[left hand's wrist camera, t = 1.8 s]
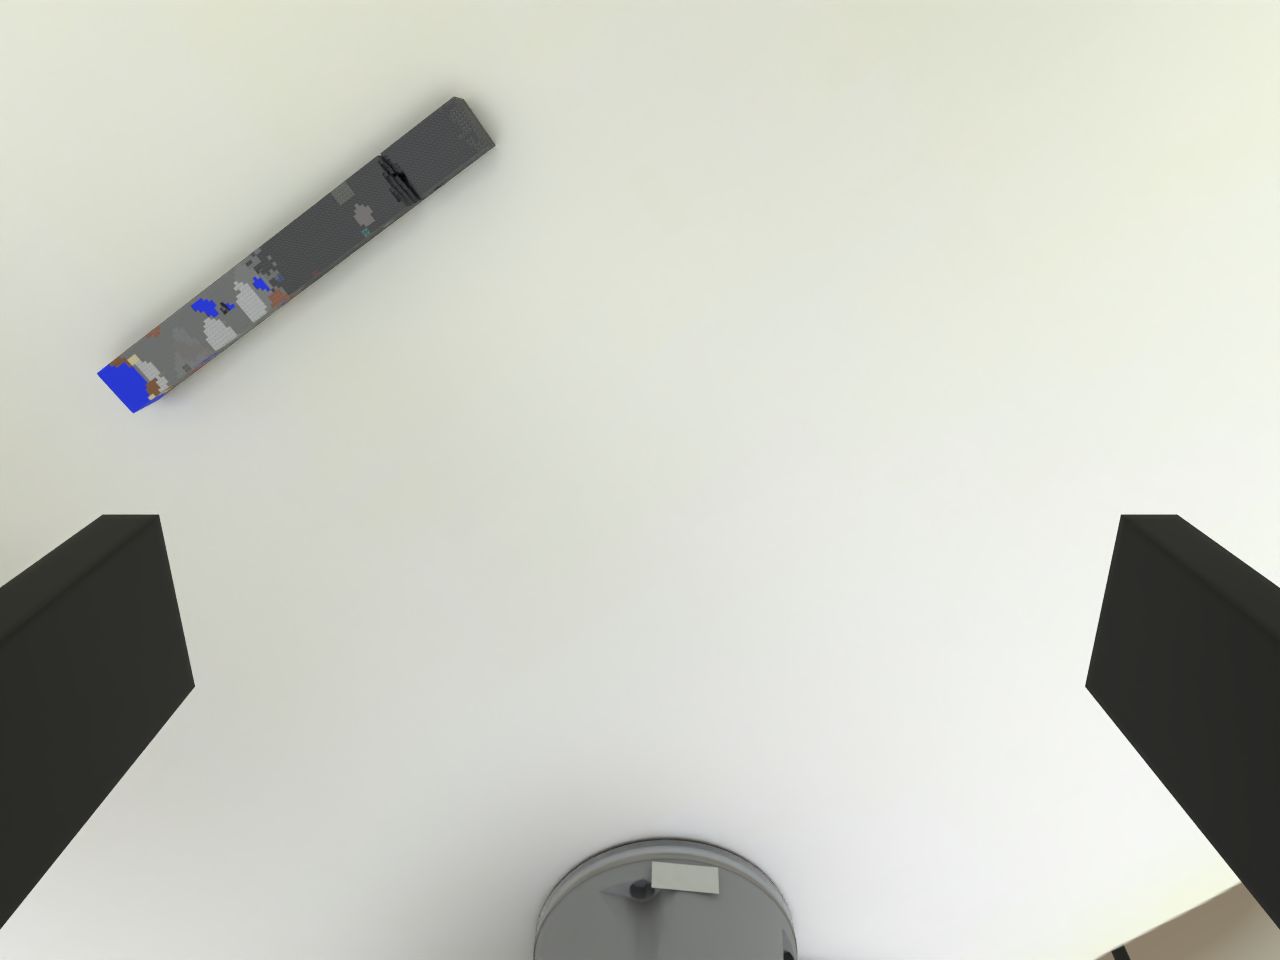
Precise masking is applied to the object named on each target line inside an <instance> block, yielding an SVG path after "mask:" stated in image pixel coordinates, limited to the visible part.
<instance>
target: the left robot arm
mask: <svg viewBox="0 0 1280 960" xmlns="http://www.w3.org/2000/svg"><path fill="white" fill-rule="evenodd" d="M194 687H195V685H194V680H193V675H192V670H191V666H190V661H189V656H188V651H187V646H186V642H185V637H184V632H183V627H182V623H181V618H180V613H179V608H178V603H177V599H176V594H175V589H174V584H173V580H172V575H171V570H170V565H169V560H168V556H167V551H166V546H165V541H164V537H163V532H162V527H161V522H160V517H159V515H102V516H100V517H99V518H97V519H96V520H95V521H93V522H92V523H90V524H89V525H88V526H86V527H85V528H83V529H82V530H81V531H79V532H78V533H76V534H75V535H74V536H72V537H71V538H69V539H68V540H67V541H65V542H64V543H62V544H61V545H60V546H58V547H57V548H55V549H54V550H53V551H51V552H50V553H48V554H47V555H46V556H44V557H43V558H41V559H40V560H39V561H37V562H36V563H34V564H33V565H32V566H30V567H29V568H27V569H26V570H25V571H23V572H22V573H20V574H19V575H18V576H16V577H15V578H13V579H12V580H11V581H9V582H8V583H6V584H5V585H4V586H2V587H1V588H0V929H1V928H2V927H3V925H4V924H5V923H6V922H7V920H8V919H9V918H10V917H11V915H12V914H13V913H14V912H15V910H16V909H17V908H18V907H19V905H20V904H21V903H22V902H23V900H24V899H25V898H26V897H27V895H28V894H29V893H30V892H31V890H32V889H33V888H34V887H35V885H36V884H37V883H38V882H39V880H40V879H41V878H42V877H43V875H44V874H45V873H46V872H47V870H48V869H49V868H50V867H51V865H52V864H53V863H54V862H55V860H56V859H57V858H58V857H59V855H60V854H61V853H62V852H63V850H64V849H65V848H66V847H67V845H68V844H69V843H70V842H71V840H72V839H73V838H74V837H75V835H76V834H77V833H78V832H79V830H80V829H81V828H82V827H83V825H84V824H85V823H86V822H87V820H88V819H89V818H90V817H91V815H92V814H93V813H94V812H95V810H96V809H97V808H98V807H99V805H100V804H101V803H102V802H103V800H104V799H105V798H106V797H107V796H108V794H109V793H110V792H111V791H112V789H113V788H114V787H115V786H116V784H117V783H118V782H119V781H120V779H121V778H122V777H123V776H124V774H125V773H126V772H127V771H128V769H129V768H130V767H131V766H132V764H133V763H134V762H135V761H136V759H137V758H138V757H139V756H140V754H141V753H142V752H143V751H144V749H145V748H146V747H147V746H148V744H149V743H150V742H151V741H152V739H153V738H154V737H155V736H156V734H157V733H158V732H159V731H160V729H161V728H162V727H163V726H164V724H165V723H166V722H167V721H168V719H169V718H170V717H171V716H172V714H173V713H174V712H175V711H176V709H177V708H178V707H179V706H180V704H181V703H182V702H183V701H184V699H185V698H186V697H187V696H188V694H189V693H190V692H191V691H192V689H193V688H194ZM1085 687H1086V688H1087V689H1088V691H1089V692H1090V693H1091V694H1092V696H1093V697H1094V698H1095V699H1096V701H1097V702H1098V703H1099V704H1100V706H1101V707H1102V708H1103V709H1104V711H1105V712H1106V713H1107V714H1108V716H1109V717H1110V718H1111V719H1112V721H1113V722H1114V723H1115V724H1116V726H1117V727H1118V728H1119V729H1120V731H1121V732H1122V733H1123V734H1124V736H1125V737H1126V738H1127V739H1128V741H1129V742H1130V743H1131V744H1132V746H1133V747H1134V748H1135V749H1136V751H1137V752H1138V753H1139V754H1140V756H1141V757H1142V758H1143V759H1144V761H1145V762H1146V763H1147V764H1148V766H1149V767H1150V768H1151V769H1152V771H1153V772H1154V773H1155V774H1156V776H1157V777H1158V778H1159V779H1160V781H1161V782H1162V783H1163V784H1164V786H1165V787H1166V788H1167V789H1168V791H1169V792H1170V793H1171V794H1172V796H1173V797H1174V798H1175V799H1176V801H1177V802H1178V803H1179V804H1180V805H1181V807H1182V808H1183V809H1184V810H1185V812H1186V813H1187V814H1188V815H1189V817H1190V818H1191V819H1192V820H1193V822H1194V823H1195V824H1196V825H1197V827H1198V828H1199V829H1200V830H1201V832H1202V833H1203V834H1204V835H1205V837H1206V838H1207V839H1208V840H1209V842H1210V843H1211V844H1212V845H1213V847H1214V848H1215V849H1216V850H1217V852H1218V853H1219V854H1220V855H1221V857H1222V858H1223V859H1224V860H1225V862H1226V863H1227V864H1228V865H1229V867H1230V868H1231V869H1232V870H1233V872H1234V873H1235V874H1236V875H1237V877H1238V878H1239V879H1240V880H1241V882H1242V883H1243V884H1244V885H1245V887H1246V888H1247V889H1248V890H1249V892H1250V893H1251V894H1252V895H1253V897H1254V898H1255V899H1256V900H1257V901H1258V903H1259V904H1260V905H1261V907H1262V908H1263V909H1264V910H1265V912H1266V913H1267V914H1268V915H1269V916H1270V918H1271V919H1272V920H1273V921H1274V923H1275V924H1276V925H1277V927H1278V928H1279V929H1280V588H1279V587H1278V586H1276V585H1275V584H1274V583H1272V582H1271V581H1269V580H1268V579H1267V578H1265V577H1264V576H1262V575H1261V574H1260V573H1258V572H1257V571H1255V570H1254V569H1253V568H1251V567H1250V566H1248V565H1247V564H1246V563H1244V562H1243V561H1241V560H1240V559H1239V558H1237V557H1236V556H1234V555H1233V554H1232V553H1230V552H1229V551H1227V550H1226V549H1225V548H1223V547H1222V546H1220V545H1219V544H1218V543H1216V542H1215V541H1213V540H1212V539H1211V538H1209V537H1208V536H1206V535H1205V534H1204V533H1202V532H1201V531H1199V530H1198V529H1197V528H1195V527H1194V526H1192V525H1191V524H1190V523H1188V522H1187V521H1185V520H1184V519H1183V518H1181V517H1180V516H1178V515H1121V517H1120V522H1119V527H1118V532H1117V537H1116V541H1115V546H1114V551H1113V556H1112V560H1111V565H1110V570H1109V575H1108V580H1107V584H1106V589H1105V594H1104V599H1103V603H1102V608H1101V613H1100V618H1099V623H1098V627H1097V632H1096V637H1095V642H1094V646H1093V651H1092V656H1091V661H1090V666H1089V670H1088V675H1087V680H1086V685H1085Z"/></svg>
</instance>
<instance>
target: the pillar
mask: <svg viewBox="0 0 1280 960" xmlns="http://www.w3.org/2000/svg"><path fill="white" fill-rule="evenodd" d="M494 146H495V144H494V143H493V141H492V140H491V138H490V137H489V135H488V134H487V133H486V131H485V130H484V128H483V127H482V125H481V124H480V122H479V121H478V120H477V118H476V117H475V115H474V114H473V112H472V111H471V109H470V108H469V107H468V105H467V104H466V102H465V101H464V99H461V98H457V97H453V98H452V99H450V100H449V101H448V102H446V103H445V104H444V105H442V106H441V107H440V108H439V109H437V110H436V111H435V112H433V113H432V114H431V115H430V116H428V117H427V118H426V119H424V120H423V121H422V122H421V123H419V124H418V125H417V126H415V127H414V128H413V129H412V130H410V131H409V132H408V133H406V134H405V135H404V136H403V137H401V138H400V139H399V140H397V141H396V142H395V143H393V144H392V145H391V146H390V147H388V148H387V149H386V150H384V151H383V152H382V153H381V155H382V156H377V157H375V158H374V159H373V160H372V161H370V162H369V163H368V164H366V165H365V166H364V167H363V168H361V169H360V170H359V171H357V172H356V173H355V174H353V175H352V176H351V177H350V178H348V179H347V180H346V181H344V182H343V183H342V184H341V185H339V186H338V187H337V188H335V189H334V190H333V191H332V192H330V193H329V194H328V195H326V196H325V197H324V198H323V199H321V200H320V201H319V202H317V203H316V204H315V205H314V206H312V207H311V208H310V209H308V210H307V211H306V212H304V213H303V214H302V215H301V216H299V217H298V218H297V219H295V220H294V221H293V222H292V223H290V224H289V225H288V226H286V227H285V228H284V229H283V230H281V231H280V232H279V233H277V234H276V235H275V236H274V237H272V238H271V239H270V240H268V241H267V242H266V243H265V244H263V245H262V246H261V247H259V248H258V249H257V250H255V251H254V252H253V253H252V254H250V255H249V256H248V257H246V258H245V259H244V260H243V261H241V262H240V263H239V264H237V265H236V266H235V267H234V268H232V269H231V270H230V271H228V272H227V273H226V274H225V275H223V276H222V277H221V278H219V279H218V280H217V281H215V282H214V283H213V284H212V285H210V286H209V287H208V288H206V289H205V290H204V291H203V292H201V293H200V294H199V295H197V296H196V297H195V298H194V299H192V300H191V301H190V302H188V303H187V304H186V305H185V306H183V307H182V308H181V309H179V310H178V311H177V312H176V313H174V314H173V315H172V316H170V317H169V318H168V319H166V320H165V321H164V322H163V323H161V324H160V325H159V326H157V327H156V328H155V329H154V330H152V331H151V332H150V333H148V334H147V335H146V336H145V337H143V338H142V339H141V340H139V341H138V342H137V343H136V344H134V345H133V346H132V347H130V348H129V349H128V350H127V351H125V352H124V353H123V354H121V355H120V356H119V357H117V358H116V359H115V360H114V361H112V362H111V363H110V364H108V365H107V366H106V367H105V368H103V369H102V370H101V371H99V372H98V373H97V374H98V376H99V377H100V378H101V379H102V380H103V381H104V382H105V383H106V384H107V386H108V387H109V388H110V389H111V390H112V391H113V392H114V393H115V394H116V395H117V396H118V398H119V399H120V400H121V401H122V402H123V403H124V404H125V405H126V406H127V407H128V409H129V410H130V411H131V412H133V413H135V412H137V411H139V410H140V409H142V408H144V407H146V406H148V405H150V404H152V403H153V402H155V401H157V400H159V399H160V398H161V397H162V396H164V395H165V394H166V393H168V392H169V391H170V390H172V389H173V388H174V387H176V386H177V385H178V384H180V383H181V382H182V381H184V380H185V379H186V378H188V377H189V376H190V375H192V374H193V373H194V372H196V371H197V370H198V369H200V368H201V367H202V366H204V365H205V364H206V363H208V362H209V361H210V360H212V359H213V358H214V357H216V356H217V355H218V354H220V353H221V352H222V351H224V350H225V349H226V348H227V347H229V346H230V345H231V344H233V343H234V342H235V341H237V340H238V339H239V338H241V337H242V336H243V335H245V334H246V333H247V332H249V331H250V330H251V329H253V328H254V327H255V326H257V325H258V324H259V323H261V322H262V321H263V320H265V319H266V318H267V317H269V316H270V315H271V314H273V313H274V312H275V311H277V310H278V309H279V308H281V307H282V306H283V305H285V304H286V303H287V302H288V301H290V300H291V299H292V298H294V297H295V296H296V295H298V294H299V293H300V292H302V291H303V290H304V289H306V288H307V287H308V286H310V285H311V284H312V283H314V282H315V281H316V280H318V279H319V278H320V277H322V276H323V275H324V274H326V273H327V272H328V271H330V270H331V269H332V268H334V267H335V266H336V265H338V264H339V263H340V262H342V261H343V260H344V259H346V258H347V257H348V256H349V255H351V254H352V253H353V252H355V251H356V250H357V249H359V248H360V247H361V246H363V245H364V244H365V243H367V242H368V241H369V240H371V239H372V238H373V237H375V236H376V235H377V234H379V233H380V232H381V231H383V230H384V229H385V228H387V227H388V226H389V225H391V224H392V223H393V222H395V221H396V220H397V219H399V218H400V217H401V216H403V215H404V214H405V213H407V212H408V211H409V210H410V209H412V208H413V207H414V206H416V205H417V204H418V203H420V202H421V201H422V200H424V199H425V198H426V197H428V196H429V195H430V194H432V193H433V192H434V191H436V190H437V189H438V188H440V187H441V186H442V185H444V184H445V183H446V182H448V181H449V180H450V179H452V178H453V177H454V176H456V175H457V174H458V173H460V172H461V171H462V170H464V169H465V168H466V167H468V166H469V165H470V164H471V163H473V162H474V161H475V160H477V159H478V158H479V157H481V156H482V155H483V154H485V153H486V152H487V151H489V150H490V149H491V148H493V147H494ZM396 172H399V174H398V175H396ZM388 173H390V174H391V175H389V174H388ZM388 175H389V176H388Z"/></svg>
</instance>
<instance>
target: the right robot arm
mask: <svg viewBox="0 0 1280 960" xmlns="http://www.w3.org/2000/svg"><path fill="white" fill-rule="evenodd" d="M1111 952H1112V955H1113V957H1114V959H1115V960H1131V959H1130V957H1129V955H1128V953H1127V951H1126V948H1125V946H1124V944H1122V945H1120V946H1119V947H1117V948H1115V949H1113V950H1111ZM534 960H797V945H796V938H795V934H794V929H793V924H792V920H791V916H790V912H789V910H788V907H787V905H786V902H785V900H784V899H783V897H782V895H781V893H780V892H779V891H778V889H777V888H776V886H775V885H774V884H773V883H772V882H771V881H770V880H769V879H768V877H767V876H765V875H764V874H763V873H762V872H761V871H760V870H759V869H757V868H756V867H755V866H753V865H752V864H750V863H749V862H747V861H745V860H744V859H742V858H740V857H739V856H736V855H734V854H732V853H730V852H728V851H725V850H722V849H720V848H717V847H713V846H710V845H706V844H702V843H696V842H691V841H681V840H652V841H644V842H637V843H633V844H628V845H624V846H621V847H617V848H614V849H611V850H609V851H606V852H604V853H601V854H599V855H597V856H595V857H593V858H591V859H589V860H588V861H586V862H584V863H583V864H581V865H580V866H578V867H577V868H576V869H574V870H573V871H572V872H570V873H569V874H568V875H567V876H566V877H565V878H564V879H563V880H562V881H561V882H560V883H559V884H558V885H557V886H556V888H555V889H554V890H553V892H552V893H551V894H550V896H549V897H548V899H547V901H546V903H545V905H544V906H543V909H542V911H541V914H540V917H539V921H538V925H537V932H536V940H535V948H534Z"/></svg>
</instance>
